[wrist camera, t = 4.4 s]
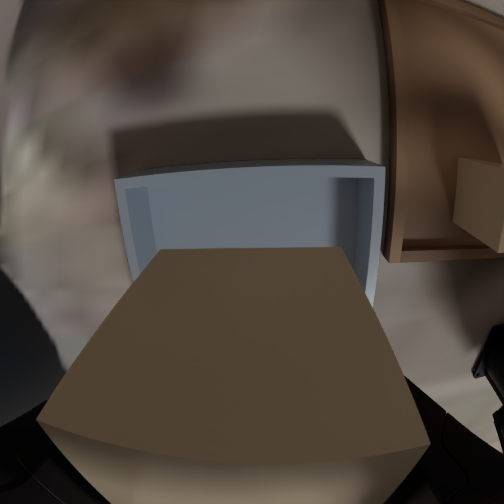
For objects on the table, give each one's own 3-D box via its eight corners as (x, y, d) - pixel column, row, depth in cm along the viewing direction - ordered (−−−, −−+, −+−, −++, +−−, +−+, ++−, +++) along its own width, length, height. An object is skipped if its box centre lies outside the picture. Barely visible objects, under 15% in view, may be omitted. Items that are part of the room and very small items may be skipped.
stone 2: (496, 222, 18) (541, 251, 12) (452, 222, 18) (497, 252, 13) (502, 163, 16) (553, 179, 11) (458, 157, 16) (509, 171, 11)
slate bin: (349, 347, 23) (358, 377, 20) (172, 348, 24) (160, 377, 21) (366, 159, 17) (385, 166, 14) (139, 170, 18) (114, 179, 15)
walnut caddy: (524, 250, 19) (532, 255, 17) (383, 255, 20) (388, 263, 19) (528, 38, 12) (536, 36, 10) (375, -14, 13) (380, -21, 12)
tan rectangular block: (325, 378, 9) (346, 539, 4) (185, 376, 9) (141, 528, 4) (340, 246, 7) (430, 444, 2) (160, 249, 8) (35, 419, 3)
